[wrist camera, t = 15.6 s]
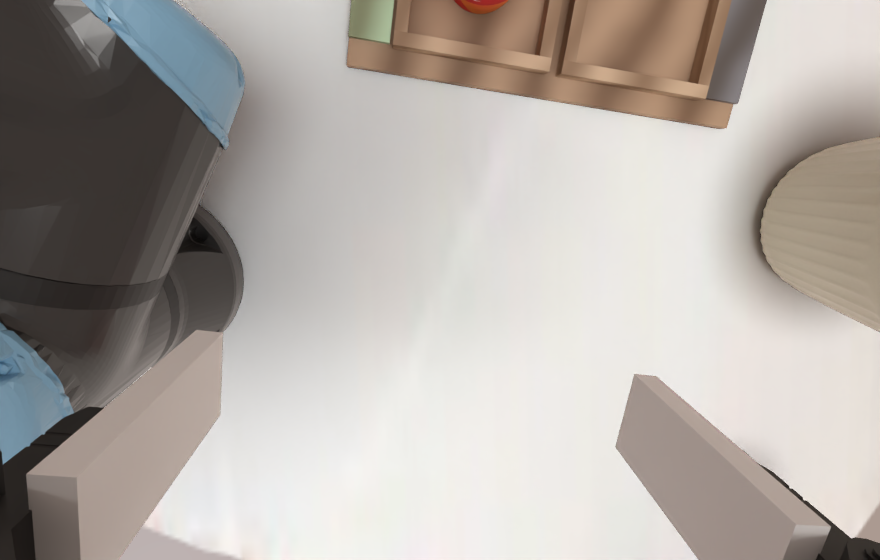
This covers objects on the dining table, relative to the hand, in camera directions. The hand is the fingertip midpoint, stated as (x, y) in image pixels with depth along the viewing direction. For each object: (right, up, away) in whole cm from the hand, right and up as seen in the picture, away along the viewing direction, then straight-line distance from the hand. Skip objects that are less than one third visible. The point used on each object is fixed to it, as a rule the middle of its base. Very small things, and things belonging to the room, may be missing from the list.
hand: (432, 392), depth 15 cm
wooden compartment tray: (+10, +27, +24) cm, 37 cm away
